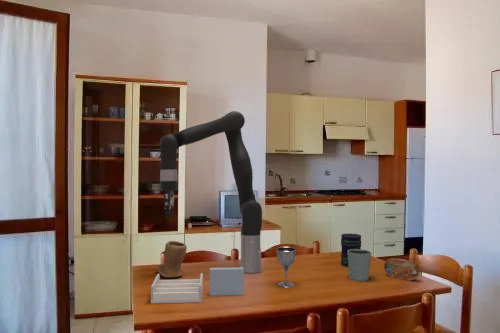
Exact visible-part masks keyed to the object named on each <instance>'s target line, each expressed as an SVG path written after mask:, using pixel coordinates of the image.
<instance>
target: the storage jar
mask: <svg viewBox="0 0 500 333" xmlns="http://www.w3.org/2000/svg"><path fill="white" fill-rule="evenodd" d="M340 237H341V238H340V239H341V240H340V245H341V253H340V262H341V263H340V265H341V266H342V267H345V268H348V264H349V263H348V252H347V251H348V250H350V249H361V248H362V235H361V234H358V233H342V234H341V236H340ZM361 250H362V249H361Z"/></svg>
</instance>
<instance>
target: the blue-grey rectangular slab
mask: <svg viewBox="0 0 500 333" xmlns="http://www.w3.org/2000/svg"><path fill="white" fill-rule="evenodd" d="M244 279H245V272H244V268H243V267H241V266H240V267H210V268H209V296H210V297H211V296H214V297H215V296H244V295H245V294H244V293H245V292H244V290H245V289H244V288H245V286H244V285H245V280H244Z"/></svg>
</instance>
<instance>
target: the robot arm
mask: <svg viewBox="0 0 500 333" xmlns="http://www.w3.org/2000/svg"><path fill="white" fill-rule="evenodd" d="M245 122H246V118H245V117H244V115H243V114H242V113H241V112H239V111H234V110H232V111H230V112H227V113H226V114H225V115H223V116H221V117H220V118H217V119H214V120H211V121H209V122H205V123H201V124H197V125H194V126H190V127H187V128H184V129H181V130H180V131H177V132H174V133H170V134H165V135H163V136H162V137H160V141H159V147H160V151H161V152H160V154H161V156H160V157H161V158H160V171H159V172H160V174H159V181H160V182H159V186H160V188H159V190H160V191H162V192H165V193H164V194H163V208H164V211H165V212H164V214H165V216H164V217H165V218H166V219H168V218H169V219H170V218H171V217H172V216H174V206H175V191H177V190H178V188H179V187H178V186H179V185H178V169H177V168H178V167H177V166H178V165H177V164H178V163H177V152H178V148H181V147H183V146H187V145H191V144H194V143H197V142H200V141H202V140H205V139H207V138H210V137H212V136H216V135H217V134H218V135H219V134H221V133H224V135H225V137H226V141H227V144H228V145H227V146H228V152H229V154H228V155H229V158H230V164H231V170H232V174H233V179H234V181H235V185H236V189H237V193H238V203H239V211H240V214H241V216H242V218H241V219H242V222H241V223H242V224H241V228H240V267H243V268H244V274H255V273H261V272H262V250H261V230H262V226H263V224H262V223H263V208H262V205H261V204H260V203H259V202H258V201H257V200H256V197H255V194H254V189H253V188H254V187H253V181H254V179H253V178H254V176H253V174H254V173H253V165H252V163H251V162H252V161H251V156H250V154H249V152H248V150H247V148H246V146H245V144H244V140H243V136H242V129H243V127H244V125H245Z"/></svg>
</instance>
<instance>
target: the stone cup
mask: <svg viewBox="0 0 500 333" xmlns="http://www.w3.org/2000/svg"><path fill="white" fill-rule="evenodd" d="M186 254H187V245H186V244H185V243H184V242H182V241H181V242H180V241H177V240H170V241H167V242H166V243H165V247H164V261H165V262H164V263H161V264H159V265H156V268H155V269H156V271H157V272H158V274H160V276H163V277H164V278H179V277H181V276H183V274H184V272H183V270H182V265H183V261H184V259H185V256H186Z"/></svg>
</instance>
